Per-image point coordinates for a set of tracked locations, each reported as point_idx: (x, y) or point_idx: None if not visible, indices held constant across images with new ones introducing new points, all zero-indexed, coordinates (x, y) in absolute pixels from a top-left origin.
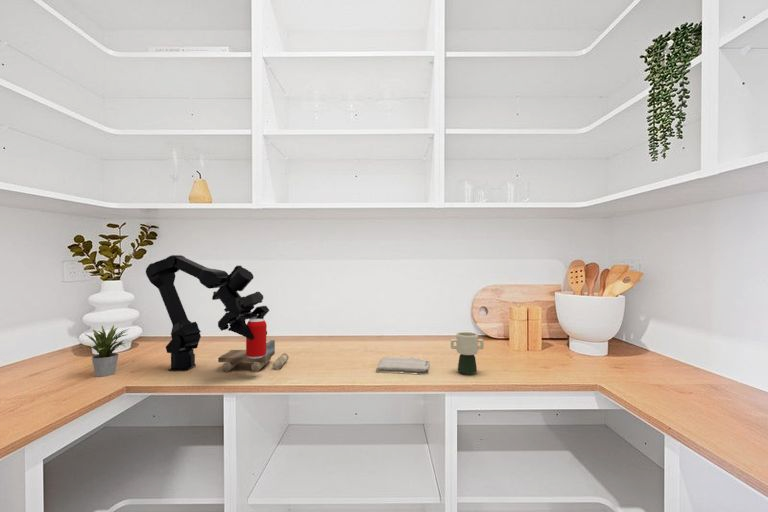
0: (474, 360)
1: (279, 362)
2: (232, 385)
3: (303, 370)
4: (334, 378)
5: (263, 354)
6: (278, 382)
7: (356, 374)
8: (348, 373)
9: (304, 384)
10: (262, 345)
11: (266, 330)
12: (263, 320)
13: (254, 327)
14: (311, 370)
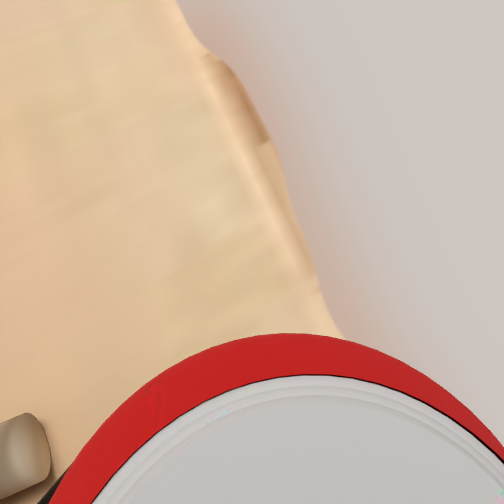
0: None
1: (21, 427)
2: None
3: (27, 265)
4: (116, 68)
5: (256, 382)
6: (265, 267)
7: (33, 14)
8: (26, 46)
9: (239, 141)
10: (280, 376)
11: (42, 498)
12: (230, 406)
13: (492, 451)
14: (16, 223)
